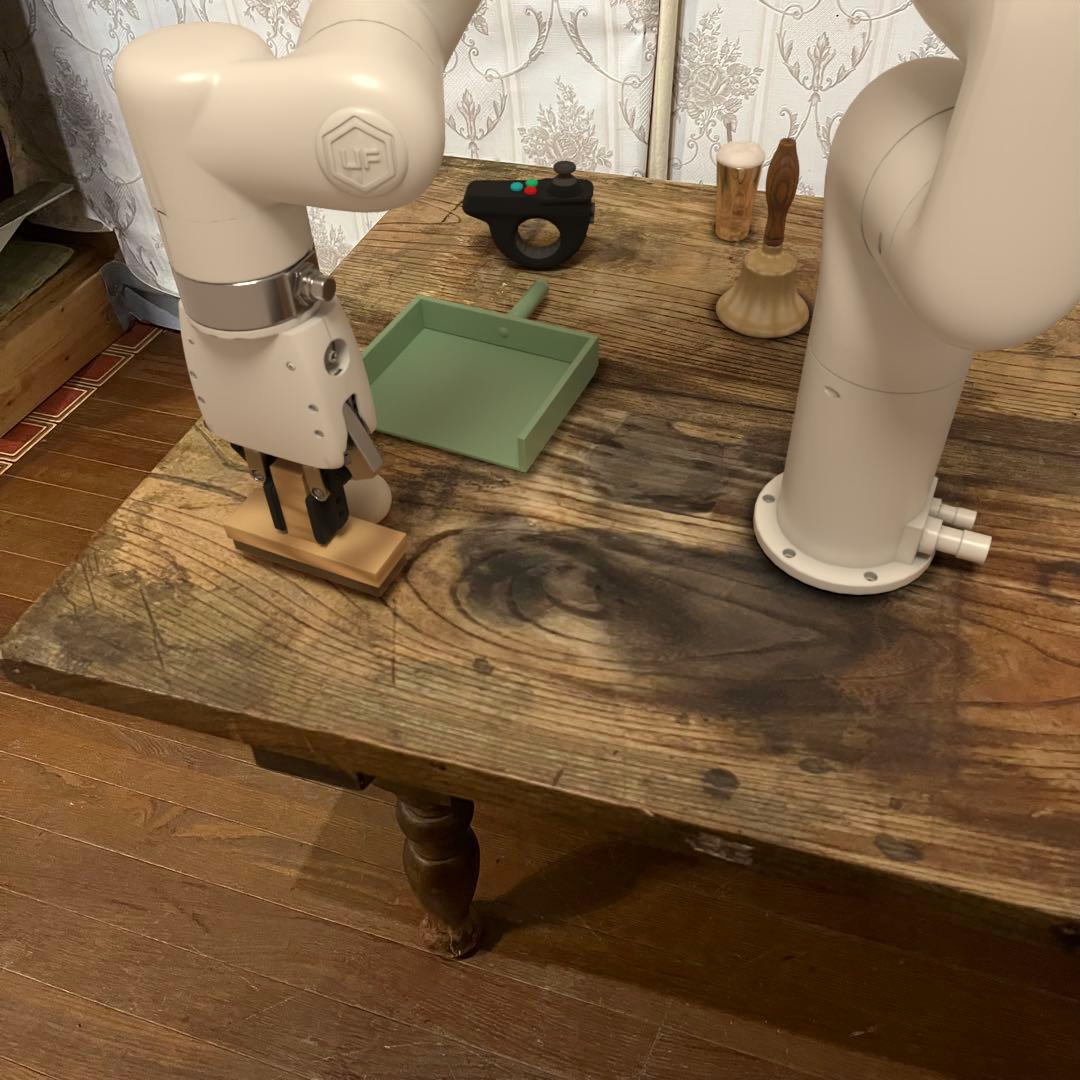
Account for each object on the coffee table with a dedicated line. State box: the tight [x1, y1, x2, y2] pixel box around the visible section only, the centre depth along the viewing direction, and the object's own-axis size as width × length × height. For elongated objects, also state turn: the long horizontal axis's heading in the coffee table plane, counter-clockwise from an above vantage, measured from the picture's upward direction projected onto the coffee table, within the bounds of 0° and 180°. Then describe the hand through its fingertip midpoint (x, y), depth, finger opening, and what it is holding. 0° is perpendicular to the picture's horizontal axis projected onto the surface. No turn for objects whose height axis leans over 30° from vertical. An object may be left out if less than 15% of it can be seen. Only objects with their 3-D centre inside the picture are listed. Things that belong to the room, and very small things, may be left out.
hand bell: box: [715, 137, 810, 339], centre depth 88 cm, size 8×8×16 cm
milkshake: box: [715, 121, 766, 242], centre depth 100 cm, size 5×5×10 cm
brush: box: [222, 457, 409, 598], centre depth 68 cm, size 12×4×9 cm, turn 66°
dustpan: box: [360, 279, 600, 474], centre depth 87 cm, size 22×17×3 cm
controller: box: [461, 160, 596, 270], centre depth 97 cm, size 4×12×10 cm, turn 86°
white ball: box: [343, 473, 393, 524], centre depth 74 cm, size 4×4×4 cm
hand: (312, 521), depth 69 cm, fingers closed on brush, 2 cm apart
